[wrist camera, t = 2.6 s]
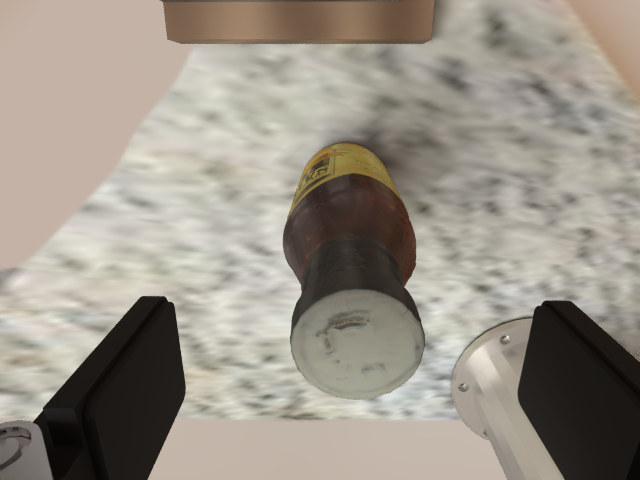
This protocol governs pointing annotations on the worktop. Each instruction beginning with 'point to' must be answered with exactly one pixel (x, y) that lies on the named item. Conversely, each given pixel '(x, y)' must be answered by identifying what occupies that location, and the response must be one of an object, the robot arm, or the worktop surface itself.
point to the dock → (299, 21)
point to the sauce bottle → (352, 276)
